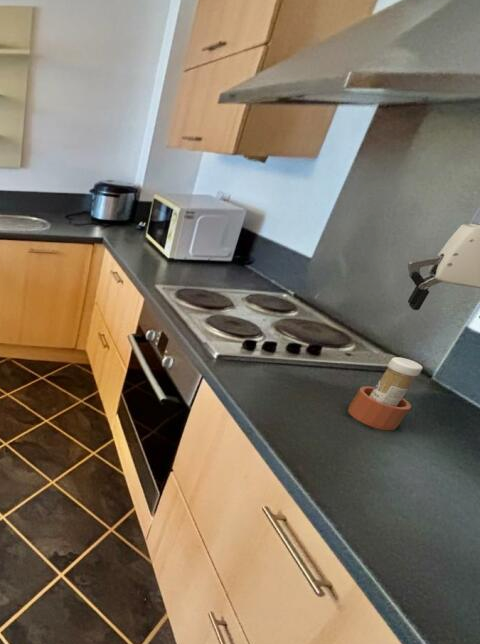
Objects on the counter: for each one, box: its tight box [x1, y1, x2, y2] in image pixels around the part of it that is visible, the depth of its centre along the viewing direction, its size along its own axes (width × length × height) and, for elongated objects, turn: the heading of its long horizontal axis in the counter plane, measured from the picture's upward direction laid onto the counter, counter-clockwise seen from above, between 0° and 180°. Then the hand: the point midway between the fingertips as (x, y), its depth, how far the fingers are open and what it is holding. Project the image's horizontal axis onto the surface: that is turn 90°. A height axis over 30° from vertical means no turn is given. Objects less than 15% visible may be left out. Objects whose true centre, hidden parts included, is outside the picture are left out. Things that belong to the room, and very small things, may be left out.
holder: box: [347, 385, 412, 432], centre depth 87 cm, size 8×8×6 cm
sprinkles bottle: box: [369, 356, 423, 407], centre depth 85 cm, size 5×5×14 cm
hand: (447, 314), depth 77 cm, fingers open, 9 cm apart
